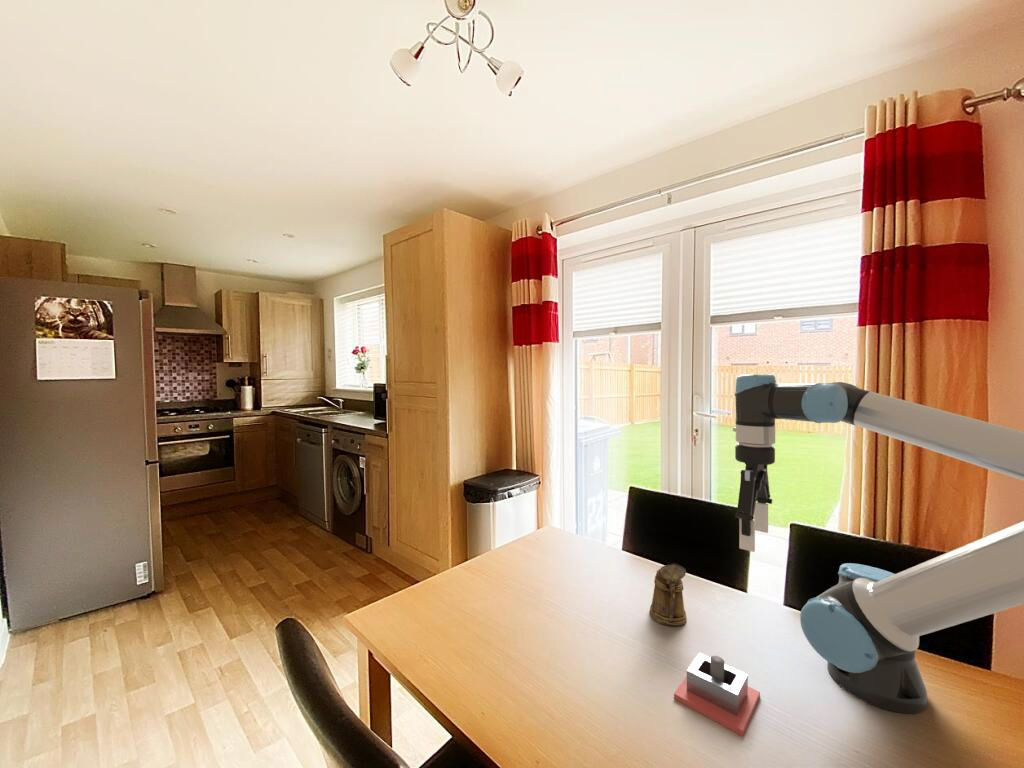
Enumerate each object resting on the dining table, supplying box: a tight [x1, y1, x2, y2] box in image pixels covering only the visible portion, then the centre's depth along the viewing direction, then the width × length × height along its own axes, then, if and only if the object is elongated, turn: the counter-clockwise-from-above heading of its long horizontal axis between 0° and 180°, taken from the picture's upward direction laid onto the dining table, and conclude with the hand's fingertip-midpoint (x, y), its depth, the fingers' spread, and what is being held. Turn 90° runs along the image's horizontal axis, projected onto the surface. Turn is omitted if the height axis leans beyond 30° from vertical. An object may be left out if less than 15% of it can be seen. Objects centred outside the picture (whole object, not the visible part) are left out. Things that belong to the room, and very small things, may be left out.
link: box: [686, 652, 749, 716], centre depth 80 cm, size 9×7×4 cm
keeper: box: [673, 655, 761, 737], centre depth 79 cm, size 12×12×8 cm
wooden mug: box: [649, 562, 688, 627], centre depth 104 cm, size 9×14×18 cm, turn 167°
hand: (754, 540), depth 90 cm, fingers open, 13 cm apart
